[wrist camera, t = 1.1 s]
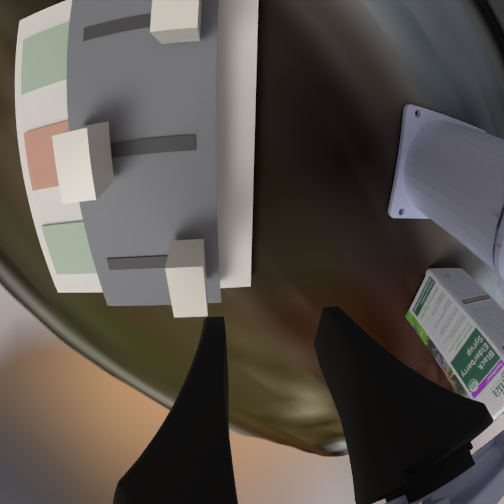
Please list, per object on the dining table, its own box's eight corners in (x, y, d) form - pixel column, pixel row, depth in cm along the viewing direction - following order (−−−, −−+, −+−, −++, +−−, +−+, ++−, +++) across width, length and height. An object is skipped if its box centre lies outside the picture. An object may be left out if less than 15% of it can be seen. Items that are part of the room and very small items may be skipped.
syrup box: (426, 266, 22) (525, 388, 9) (462, 266, 23) (549, 365, 10) (403, 315, 24) (477, 434, 12) (440, 310, 25) (510, 409, 13)
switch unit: (256, -20, 10) (266, -42, 7) (248, 277, 19) (255, 307, 17) (27, 23, 8) (0, 16, 5) (62, 284, 18) (47, 311, 15)
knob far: (203, 238, 14) (203, 266, 12) (207, 285, 15) (207, 316, 13) (171, 240, 13) (165, 268, 11) (177, 286, 15) (174, 317, 13)
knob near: (202, -13, 8) (201, -35, 5) (200, 41, 9) (197, 27, 7) (164, -10, 7) (155, -31, 5) (161, 44, 9) (150, 32, 7)
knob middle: (108, 121, 10) (87, 127, 8) (114, 181, 12) (96, 199, 9) (77, 127, 10) (52, 135, 8) (84, 185, 11) (62, 204, 9)
